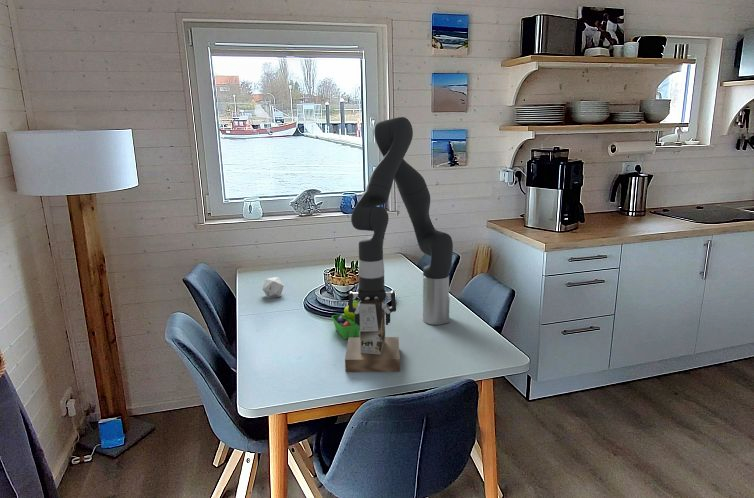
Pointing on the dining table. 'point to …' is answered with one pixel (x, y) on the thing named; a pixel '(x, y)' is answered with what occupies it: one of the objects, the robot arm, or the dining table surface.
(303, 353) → the dining table surface
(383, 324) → the coffee box
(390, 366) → the wooden block
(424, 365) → the dining table surface
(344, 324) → the fruit basket
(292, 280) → the dining table surface
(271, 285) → the die
